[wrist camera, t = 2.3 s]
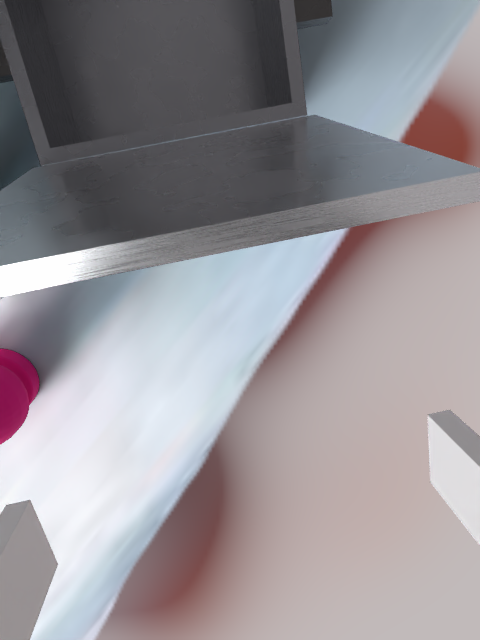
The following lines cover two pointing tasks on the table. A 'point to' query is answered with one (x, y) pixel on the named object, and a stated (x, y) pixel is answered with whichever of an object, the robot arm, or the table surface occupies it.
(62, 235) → the lid
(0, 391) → the pepper mill
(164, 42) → the gray box
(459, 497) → the robot arm
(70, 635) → the table surface
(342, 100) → the table surface
